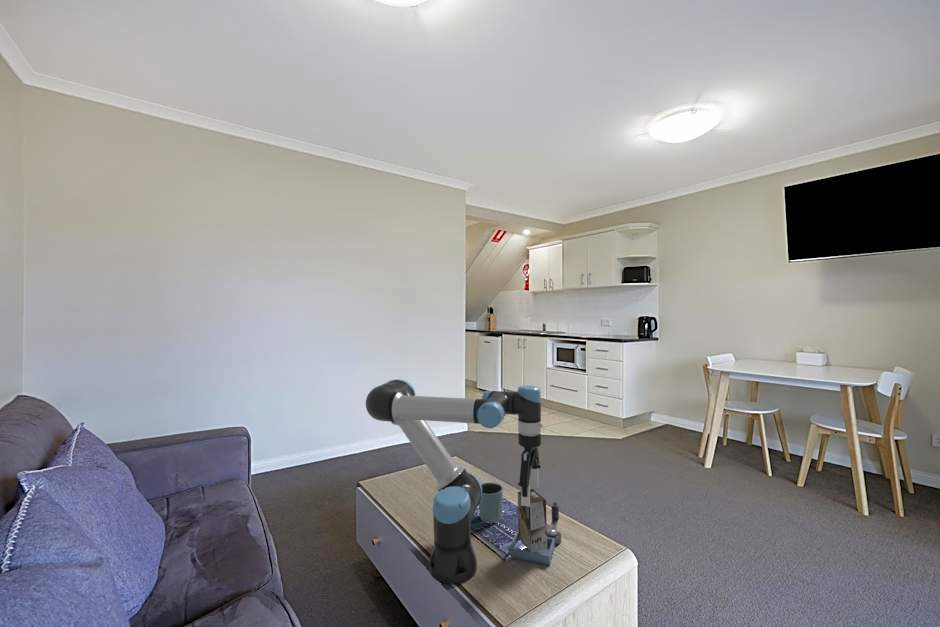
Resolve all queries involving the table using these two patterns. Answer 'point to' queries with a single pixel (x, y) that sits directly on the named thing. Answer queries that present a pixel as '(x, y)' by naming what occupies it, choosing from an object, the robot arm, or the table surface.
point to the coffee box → (533, 522)
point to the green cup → (491, 502)
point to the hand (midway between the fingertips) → (530, 496)
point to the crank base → (557, 538)
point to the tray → (535, 557)
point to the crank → (554, 521)
